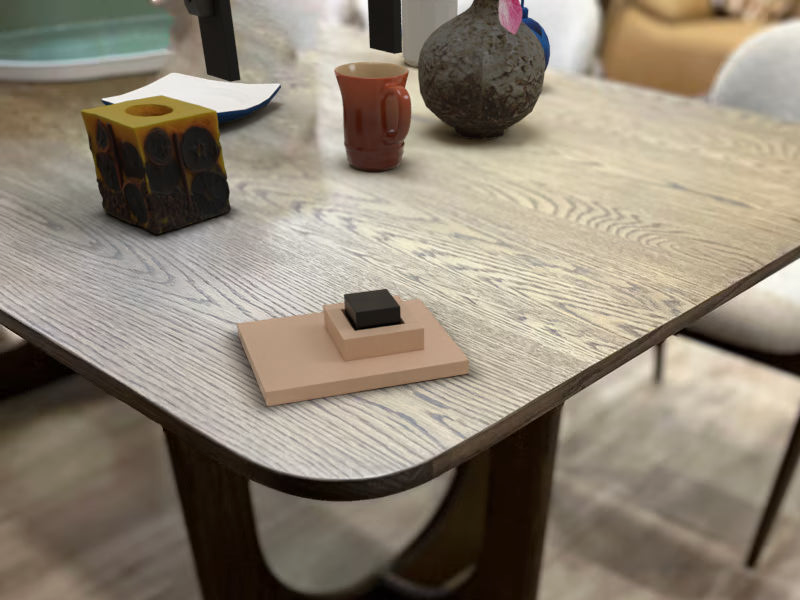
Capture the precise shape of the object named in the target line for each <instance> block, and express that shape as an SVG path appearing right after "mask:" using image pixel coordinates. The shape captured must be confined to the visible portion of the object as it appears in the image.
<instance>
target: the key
mask: <svg viewBox="0 0 800 600" xmlns="http://www.w3.org/2000/svg"><path fill="white" fill-rule="evenodd" d="M393 296H394V295H392V293H391V292H390V290H389V289H388V288H381V289H373V290H366V291H357V292H351V293H344V294H343V303H344V305H345V315H346V317H347V318H348V320H349V321H350V323H351V325H352V326H353V328H354V329H355V331H357V330H364V329H371V328H378V327H385V326H392V325H399V324H401V312H400V305H399V304H398V303H397V302H396V300H395V299H394V298H393Z"/></svg>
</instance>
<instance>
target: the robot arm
mask: <svg viewBox="0 0 800 600" xmlns="http://www.w3.org/2000/svg"><path fill="white" fill-rule="evenodd" d="M183 4H184V6H185V8H186V11H187V12H188V14H189V15H192V16H196V17H197V21H198V25H199V32H200V39H201V45H202V51H203V58H204V64H205V65H204V66H205V71H206V75H208V76H211V77H213V78H216V79H220V80H222V81H225V82H230V83H233V82H237V81H242V80H241V79H242V78H241V73H240V65H239V58H238V50H237V42H236V36H235V35H236V34H235V27H234V21H233V20H234V19H233V14H232V13H233V12H232V6H231V0H183ZM367 14H368V16H367V17H368V42H369V49H372V50H377V51H380V52H385V53H389V54H393V55H396V54H402V0H367Z"/></svg>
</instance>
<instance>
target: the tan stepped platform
mask: <svg viewBox="0 0 800 600" xmlns="http://www.w3.org/2000/svg"><path fill="white" fill-rule="evenodd" d="M392 296H393V298H394V299H395V300H396V302H397V303H398V304H399V305H400V312H401V324H399V325H392V326H385V327H378V328H371V329H364V330H357V331H355V329H354V328H353V326H352V325H351V323H350V321H349V320H348V318H347V317H346V315H345V305H344V302H337V303H330V304H329V303H328V304H323V305H322V311H318V312H312V313H305V314H297V315H290V316H282V317H275V318H267V319H259V320H252V321H245V322H237V323H236V329H237V335H238V338H239V341H240V343H241V346H242V348H243V351H244V353H245V356H246V359H247V360H248V363H249V365H250V368H251V370H252V372H253V375H254V377H255V380H256V382H257V385H258V387H259V390H260V392H261V394H262V397H263V400H264V402H265V405H266V407H272V406H273V407H274V406H277V405H278V406H279V405H285V404H290V403H296V402H304V401H308V400H309V401H310V400H315V399H321V398H327V397H334V396H341V395H345V394H346V395H347V394H352V393H359V392H364V391H371V390H376V389H377V390H378V389H383V388H390V387H395V386H401V385H406V384H407V385H408V384H413V383H419V382H426V381H432V380H437V379H438V380H439V379H445V378H451V377H456V376H462V375H468V374H469V371H470V359H469V358H468V357H467V356H466V354H465V353H464V352H463V350H462V349H461V348H460V347H459V346H458V344H457V343H456V342H455V340H453V337H452V336H450V335H449V333H448V332H447V331H446V330H445V328H444V327H443V326H442V324H441V323H440V322H439V321H438V319H436V317H435V316H434V315H433V314H432V312H431V311H430V309H429V308H428V307H427V305H425V304H424V302H423V301H422V300H421V298H414V299H407V300H403V298H402V296H400V295H399V294H397V295H392Z"/></svg>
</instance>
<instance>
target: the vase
mask: <svg viewBox="0 0 800 600" xmlns="http://www.w3.org/2000/svg"><path fill="white" fill-rule="evenodd" d="M521 20H522V8H521V1H520V0H473V1H472V3H471V4H470V6H469V7H468V8H467V9H465V10H464V11H463V12H461V13H459V14H457V16H456V17H454V18H453V19H451V20H449V21H447V22H446V23H444V24H443V25H441V26H440V27H439V28H437V29H436V30H435V31H434V32H433V33H432V34H431V35H430V36H429V37H428V39H427V40H426V41H425V43H424V45H423V47H422V49H421V51H420V55H419V61H418V67H417V75H418V76H417V77H418V85H419V86H418V87H419V93H420V96H421V98H422V100H423V102H424V105H425V107H426V109H428V110H429V111H430V112H431V113H432V114H433V115H434V116H436V117H437V118H438V119H439V120H440V121H441V122H442V123H444V124H445V125H447V126H449V127H451V128H453V130H454V134H455V135H457V136H459V137H462V138H465V139H471V140H491V139H498V138H500V137H502V136H504V133H505V131H506V130H508V129H510V128H511V127H513V126H514V125H516V124H518V123H520V122H521V121H522V120H524V119H525V118H526V117H528V115H530V114H531V113H532V112H533V110H534V108H535V106H536V104H537V102H538V100H539V98H540V95H541V94H542V91H543V85H544V80H545V73H546V71H545V53H544V50H543V47H542V45H541V42H540V41H539V39H538V38H537V37H536V35H535V34H534V33H533V32H532V30H531V29H530V28H529V27H528V26H527V25H526V24H525V23H524V22H522V21H521Z"/></svg>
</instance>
